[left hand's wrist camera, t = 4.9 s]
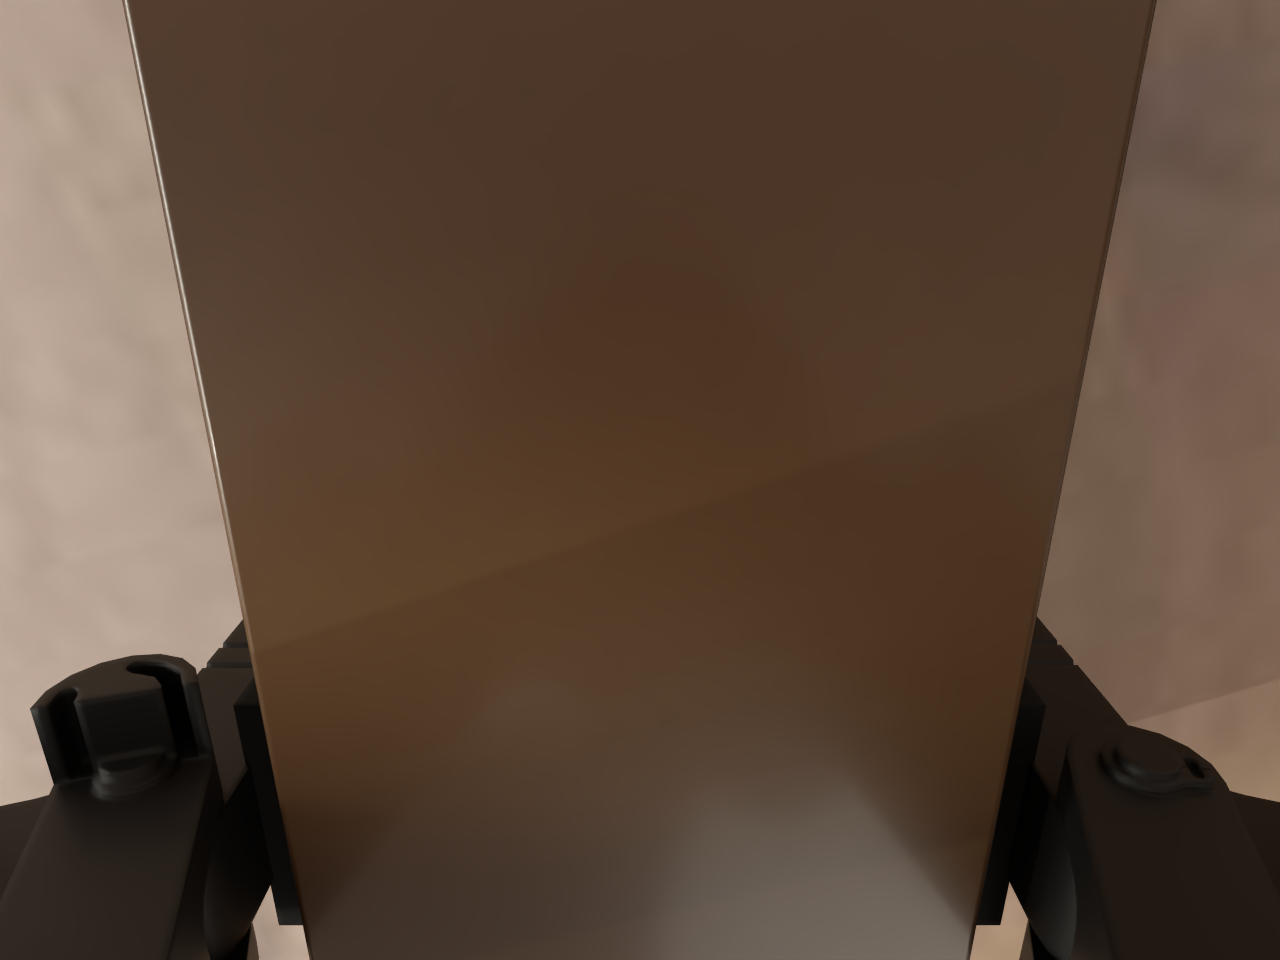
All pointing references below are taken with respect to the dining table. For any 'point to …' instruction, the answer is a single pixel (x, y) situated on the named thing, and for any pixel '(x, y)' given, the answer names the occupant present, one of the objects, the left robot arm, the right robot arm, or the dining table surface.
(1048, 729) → the left robot arm
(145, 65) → the bar
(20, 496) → the dining table surface
